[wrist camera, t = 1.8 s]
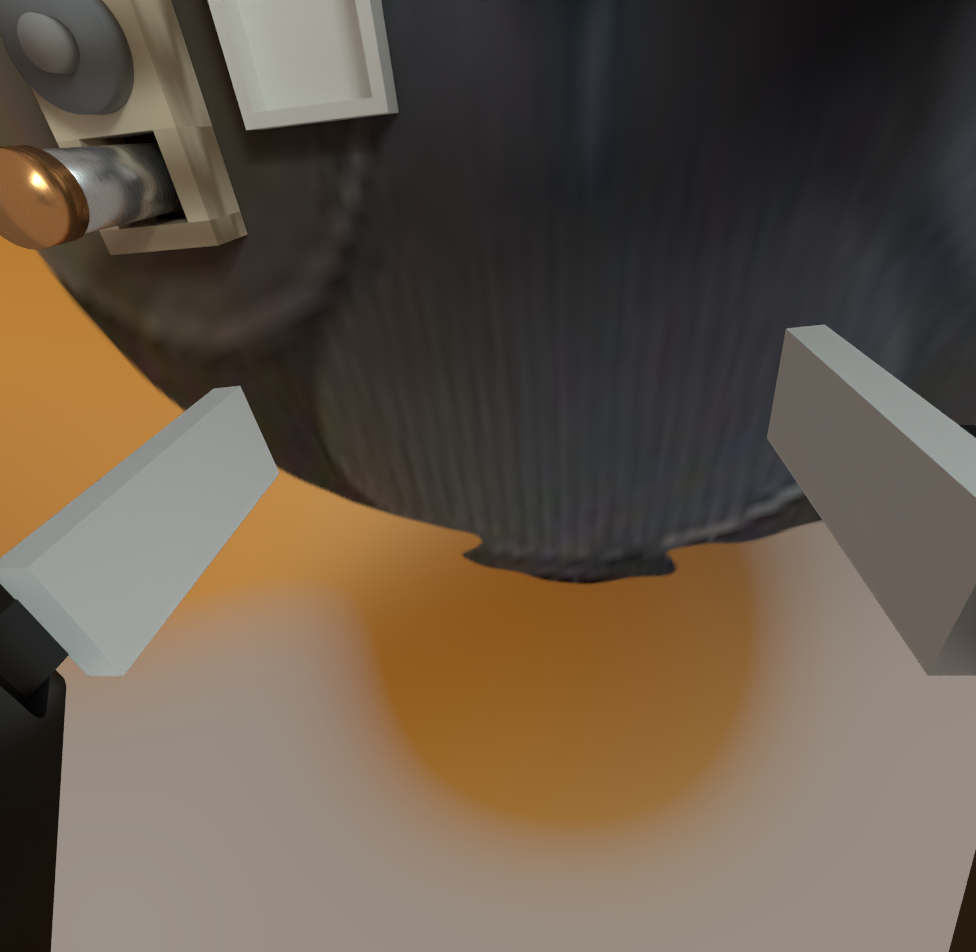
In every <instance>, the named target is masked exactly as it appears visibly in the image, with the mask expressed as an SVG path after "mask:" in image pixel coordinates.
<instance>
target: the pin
mask: <svg viewBox="0 0 976 952" xmlns="http://www.w3.org/2000/svg"><path fill="white" fill-rule="evenodd" d="M180 210H183V207H182V205H181V202H180V200H179V197H178V194H177V192H176V189H175V187H174V184H173V181H172V179H171V176H170V173H169V171H168V168H167V166H166V163H165V160H164V158H163V155H162V153H161V150H160V147H159V145H158V142H156V143H138V144H121V145H104V146H87V147H70V148H52V149H39V148H37V147H33V146H27V145H19V146H0V235H1V236H2V237H4V238H5V239H7V240H8V241H10V242H12V243H14V244H16V245H18V246H21V247H24V248H28V249H44V248H48V247H52V246H56V245H60V244H64V243H67V242H71V241H75V240H77V239H79V238H81V237H82V236H83V235H84V234H85V233H90V232H94V231H98V230H102V229H106V228H110V227H114V226H118V225H122V224H126V223H130V222H135V221H139V220H143V219H147V218H151V217H155V216H159V215H163V214H167V213H171V212H175V211H180Z"/></svg>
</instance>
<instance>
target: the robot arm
mask: <svg viewBox="0 0 976 952" xmlns="http://www.w3.org/2000/svg"><path fill="white" fill-rule="evenodd" d="M767 439H768V440H769V442H770V443H771V445H772V446H773V448H774V449H775V451H776V452H777V454H778V455H779V456H780V458H781V459H782V461H783V462H784V464H785V465H786V467H787V468H788V470H789V471H790V473H791V474H792V476H793V477H794V479H795V480H796V482H797V483H798V485H799V486H800V488H801V489H802V490H803V492H804V493H805V495H806V496H807V498H808V499H809V501H810V502H811V504H812V505H813V507H814V508H815V510H816V511H817V513H818V514H819V516H820V517H821V519H822V520H823V521H824V523H825V524H826V526H827V527H828V529H829V530H830V532H831V533H832V535H833V536H834V538H835V539H836V541H837V542H838V544H839V545H840V547H841V548H842V549H843V551H844V552H845V554H846V555H847V557H848V558H849V560H850V561H851V563H852V564H853V566H854V567H855V569H856V570H857V572H858V573H859V575H860V576H861V578H862V579H863V581H864V582H865V583H866V585H867V586H868V588H869V589H870V591H871V592H872V594H873V595H874V597H875V598H876V600H877V601H878V603H879V604H880V606H881V607H882V609H883V610H884V612H885V613H886V614H887V616H888V617H889V619H890V620H891V622H892V623H893V625H894V626H895V628H896V629H897V631H898V632H899V633H900V635H901V636H902V638H903V640H904V641H905V643H906V644H907V646H908V647H909V649H910V650H911V651H912V653H913V654H914V656H915V657H916V659H917V660H918V662H919V663H920V665H921V666H922V668H923V669H924V671H925V672H926V673H927V675H976V426H974V425H962V426H959V425H958V424H956V423H955V422H954V421H952V420H951V419H950V418H948V417H947V416H946V415H944V414H943V413H942V412H940V411H939V410H938V409H936V408H935V407H934V406H932V405H931V404H930V403H928V402H927V401H926V400H924V399H923V398H922V397H920V396H919V395H918V394H916V393H915V392H914V391H912V390H911V389H910V388H908V387H907V386H906V385H904V384H903V383H902V382H900V381H899V380H898V379H896V378H895V377H894V376H892V375H891V374H890V373H888V372H887V371H886V370H884V369H883V368H882V367H880V366H879V365H878V364H876V363H875V362H874V361H872V360H871V359H870V358H868V357H867V356H866V355H864V354H863V353H862V352H860V351H859V350H858V349H856V348H855V347H854V346H852V345H851V344H850V343H848V342H847V341H846V340H844V339H843V338H842V337H840V336H839V335H838V334H836V333H835V332H834V331H832V330H831V329H830V328H828V327H827V326H826V325H816V326H807V327H797V328H787V329H786V332H785V338H784V343H783V349H782V355H781V361H780V366H779V372H778V378H777V384H776V389H775V395H774V401H773V407H772V412H771V418H770V424H769V430H768V436H767ZM278 475H279V471H278V469H277V467H276V465H275V462H274V460H273V458H272V456H271V454H270V451H269V449H268V447H267V445H266V442H265V440H264V438H263V436H262V433H261V431H260V429H259V427H258V425H257V422H256V420H255V418H254V416H253V413H252V411H251V409H250V407H249V404H248V402H247V400H246V398H245V396H244V393H243V391H242V389H241V387H240V386H234V387H224V388H214V389H213V390H211V391H210V392H209V393H208V394H206V395H205V396H204V397H202V398H201V399H200V400H199V401H197V402H196V403H195V404H194V405H192V406H191V407H190V408H189V409H187V410H186V411H185V412H184V413H182V414H181V415H180V416H179V417H177V418H176V419H175V420H174V421H172V422H171V423H170V424H169V425H167V426H166V427H165V428H164V429H162V430H161V431H160V432H159V433H157V434H156V435H155V436H154V437H152V438H151V439H150V440H148V441H147V442H146V443H145V444H143V445H142V446H141V447H140V448H138V449H137V450H136V451H135V452H133V453H132V454H131V455H130V456H128V457H127V458H126V459H125V460H123V461H122V462H121V463H119V464H118V465H117V466H116V467H114V468H113V469H112V470H111V471H109V472H108V473H107V474H106V475H104V476H103V477H102V478H101V479H99V480H98V481H97V482H96V483H94V484H93V485H92V486H91V487H89V488H88V489H87V490H86V491H84V492H83V493H82V494H81V495H79V496H78V497H77V498H75V499H74V500H73V501H72V502H70V503H69V504H68V505H67V506H65V507H64V508H63V509H62V510H61V511H59V512H58V513H57V514H55V515H54V516H53V517H52V518H51V519H49V520H48V521H47V522H45V523H44V524H43V525H42V526H40V527H39V528H38V529H37V530H35V531H34V532H33V533H32V534H30V535H29V536H28V537H27V538H25V539H24V540H23V541H21V542H20V543H19V544H18V545H16V547H14V548H13V549H11V550H10V551H9V552H8V553H6V554H5V555H4V556H3V557H1V558H0V952H51V937H52V920H53V919H52V918H53V903H54V885H55V868H56V852H57V834H58V817H59V800H60V783H61V766H62V749H63V732H64V715H65V697H66V684H65V680H64V678H63V677H62V676H61V675H60V674H59V673H58V672H57V671H56V670H55V669H56V668H57V667H58V666H59V665H60V664H61V663H62V662H63V661H64V659H65V658H66V657H67V656H69V657H70V658H71V659H72V660H73V661H74V662H75V663H76V664H77V665H78V666H79V667H80V669H82V671H83V672H84V673H85V674H86V675H87V676H124V675H125V673H126V672H127V670H128V669H129V668H130V667H131V665H132V664H133V663H134V662H135V660H136V659H137V658H138V656H139V655H140V654H141V652H142V651H143V650H144V648H145V647H146V646H147V645H148V643H149V642H150V640H152V638H153V637H154V636H155V634H156V633H157V631H158V630H159V629H160V628H161V626H162V625H163V624H164V623H165V621H166V620H167V619H168V617H169V616H170V615H171V614H172V612H173V611H174V610H175V608H176V607H177V606H178V604H179V603H180V602H181V601H182V599H183V598H184V597H185V595H186V594H187V593H188V591H189V590H190V589H191V588H192V586H193V585H194V584H195V582H196V581H197V580H198V578H199V577H200V576H201V575H202V573H203V572H204V571H205V569H206V568H207V567H208V565H209V564H210V563H211V562H212V560H213V559H214V558H215V556H216V555H217V554H218V553H219V551H220V550H221V549H222V547H223V546H224V545H225V543H226V542H227V541H228V540H229V538H230V537H231V536H232V534H233V533H234V532H235V530H236V529H237V528H238V526H239V525H240V524H241V522H242V521H243V520H244V518H245V517H246V516H247V515H248V514H249V512H250V511H251V510H252V508H253V507H254V506H255V504H256V503H257V502H258V501H259V499H260V498H261V497H262V495H263V494H264V493H265V491H266V490H267V489H268V487H269V486H270V485H271V483H272V482H273V481H274V480H275V478H276V477H277V476H278ZM949 952H976V851H975V855H974V858H973V862H972V866H971V870H970V874H969V877H968V881H967V885H966V889H965V893H964V896H963V900H962V904H961V908H960V911H959V915H958V919H957V923H956V927H955V930H954V934H953V938H952V942H951V946H950V949H949Z"/></svg>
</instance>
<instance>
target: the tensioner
mask: <svg viewBox="0 0 976 952" xmlns="http://www.w3.org/2000/svg"><path fill="white" fill-rule="evenodd" d="M0 32H1V36H2V39H3V42H4V44H5V47H6V49H7V51H8V54H9V56H10V57H11V59H12V61H13V63H14V65H15V66H16V68H17V69H18V71H19V72H20V74H21V75H22V76H23V78H24V79H25V80H26V81H27V83H28V84H29V85H30V86H31V88H32V90H33V93H34V95H35V97H36V99H37V101H38V103H39V105H40V107H41V109H42V112H43V114H44V116H45V118H46V120H47V122H48V124H49V126H50V128H51V131H52V133H53V135H54V137H55V139H56V141H57V143H58V145H59V147H60V148H70V147H87V146H104V145H121V144H126V142H125V140H124V138H123V137H131V136H139V135H147V134H155V137H156V139H157V142H158V145H159V147H160V150H161V153H162V155H163V158H164V160H165V163H166V166H167V168H168V171H169V173H170V176H171V179H172V181H173V184H174V187H175V189H176V192H177V194H178V197H179V200H180V202H181V205H182V207H183V210H184V213H185V215H186V217H179V218H169V219H159V220H157V218H156V216H155V217H151V218H147V219H143V220H139V221H135V222H130V223H126V224H122V225H118V226H114V227H110V228H106V229H102V230H99V232H100V234H101V236H102V238H103V240H104V242H105V244H106V247H107V249H108V251H109V253H110V255H119V254H130V253H141V252H152V251H163V250H174V249H185V248H196V247H207V246H219V245H221V244H224V243H226V242H229V241H232V240H234V239H237V238H240V237H242V236H245V235H248V234H247V231H246V228H245V225H244V221H243V218H242V215H241V212H240V209H239V206H238V203H237V200H236V197H235V194H234V191H233V188H232V185H231V182H230V179H229V176H228V173H227V170H226V166H225V163H224V160H223V157H222V154H221V151H220V148H219V145H218V142H217V139H216V136H215V133H214V130H213V127H212V124H211V121H210V118H209V115H208V111H207V108H206V105H205V102H204V99H203V96H202V93H201V90H200V87H199V84H198V81H197V78H196V75H195V72H194V69H193V66H192V63H191V59H190V56H189V53H188V50H187V47H186V44H185V41H184V38H183V35H182V32H181V29H180V26H179V23H178V20H177V17H176V14H175V11H174V8H173V4H172V1H171V0H0Z"/></svg>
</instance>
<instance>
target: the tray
mask: <svg viewBox="0 0 976 952" xmlns="http://www.w3.org/2000/svg"><path fill="white" fill-rule="evenodd" d="M208 4H209V7H210V10H211V14H212V17H213V20H214V24H215V27H216V30H217V34H218V37H219V41H220V44H221V47H222V51H223V54H224V57H225V61H226V64H227V67H228V71H229V74H230V77H231V81H232V84H233V88H234V91H235V94H236V98H237V101H238V104H239V108H240V111H241V114H242V118H243V121H244V124H245V128H246V130H263V129H272V128H281V127H289V126H297V125H305V124H313V123H321V122H330V121H338V120H346V119H354V118H362V117H370V116H379V115H387V114H395V113H399V110H398V104H397V98H396V91H395V85H394V79H393V72H392V66H391V60H390V53H389V47H388V41H387V34H386V28H385V22H384V15H383V9H382V3H381V0H208Z"/></svg>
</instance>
